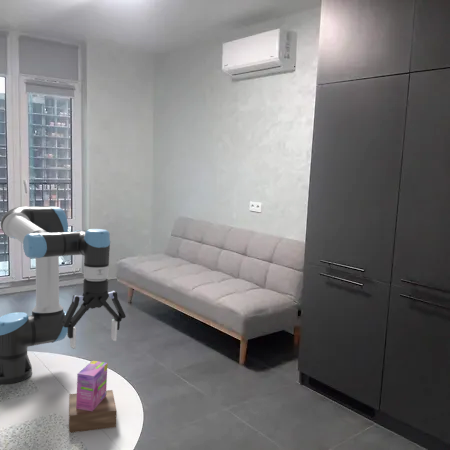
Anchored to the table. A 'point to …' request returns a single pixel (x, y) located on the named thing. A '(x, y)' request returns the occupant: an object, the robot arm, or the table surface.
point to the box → (91, 385)
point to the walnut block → (92, 414)
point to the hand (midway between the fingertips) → (93, 343)
